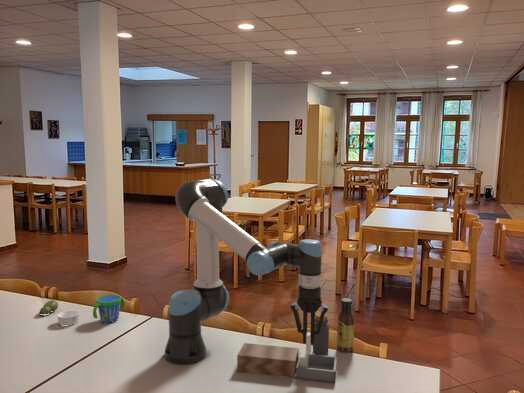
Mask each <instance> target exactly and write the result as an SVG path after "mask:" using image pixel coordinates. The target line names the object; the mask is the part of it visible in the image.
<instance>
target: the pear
mask: <svg viewBox="0 0 524 393" xmlns="http://www.w3.org/2000/svg"><path fill="white" fill-rule="evenodd" d="M58 308H59V303H58V301H56V300H53V299H52V300H48V301H47V302H46V303H44V305H43V306H42V307H41V308H40V309H39V313H38V314H39V315H40V314H48V313H50V314H51V313H52V312H51V311H54V312H55V310H56V309H57V310H58ZM57 310H56V311H57Z"/></svg>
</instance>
